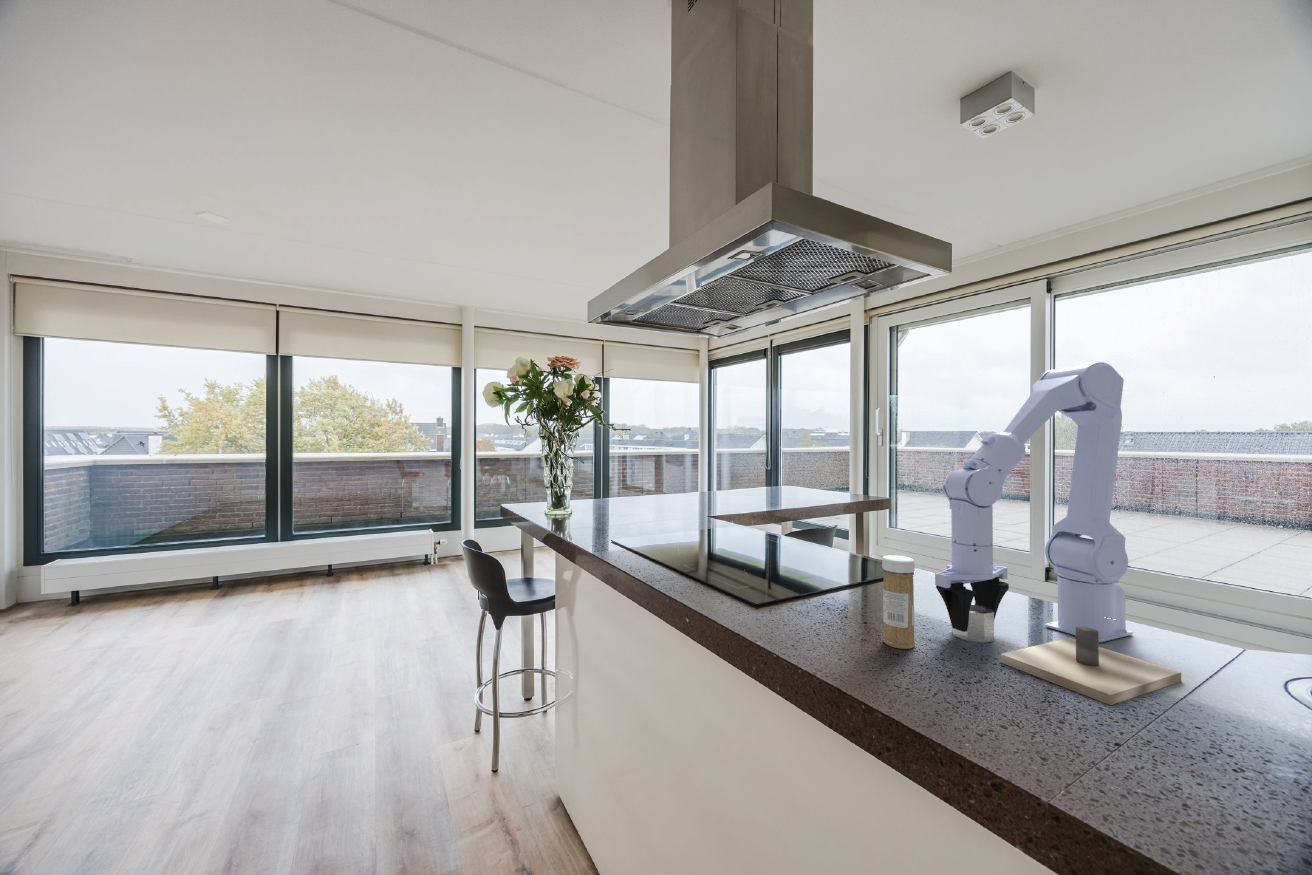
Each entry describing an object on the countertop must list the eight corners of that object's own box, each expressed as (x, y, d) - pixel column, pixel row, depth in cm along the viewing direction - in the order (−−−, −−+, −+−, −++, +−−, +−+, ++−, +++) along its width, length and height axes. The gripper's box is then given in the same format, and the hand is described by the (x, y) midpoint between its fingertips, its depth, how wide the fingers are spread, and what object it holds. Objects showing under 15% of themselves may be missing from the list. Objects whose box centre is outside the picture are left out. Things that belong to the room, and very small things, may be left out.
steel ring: (968, 627, 87) (967, 601, 87) (1000, 639, 82) (1000, 610, 82) (945, 632, 85) (944, 604, 85) (977, 644, 80) (977, 615, 80)
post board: (1069, 645, 79) (1068, 608, 79) (1181, 681, 67) (1180, 637, 67) (1000, 662, 73) (1000, 622, 73) (1110, 705, 61) (1110, 656, 61)
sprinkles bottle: (921, 645, 79) (920, 558, 79) (904, 652, 76) (903, 562, 77) (893, 636, 83) (892, 553, 83) (876, 642, 80) (875, 556, 80)
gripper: (978, 535, 90) (978, 613, 90) (918, 541, 84) (918, 624, 84) (1020, 543, 83) (1021, 626, 83) (958, 550, 78) (959, 640, 78)
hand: (972, 626), depth 83 cm, fingers closed on steel ring, 5 cm apart
